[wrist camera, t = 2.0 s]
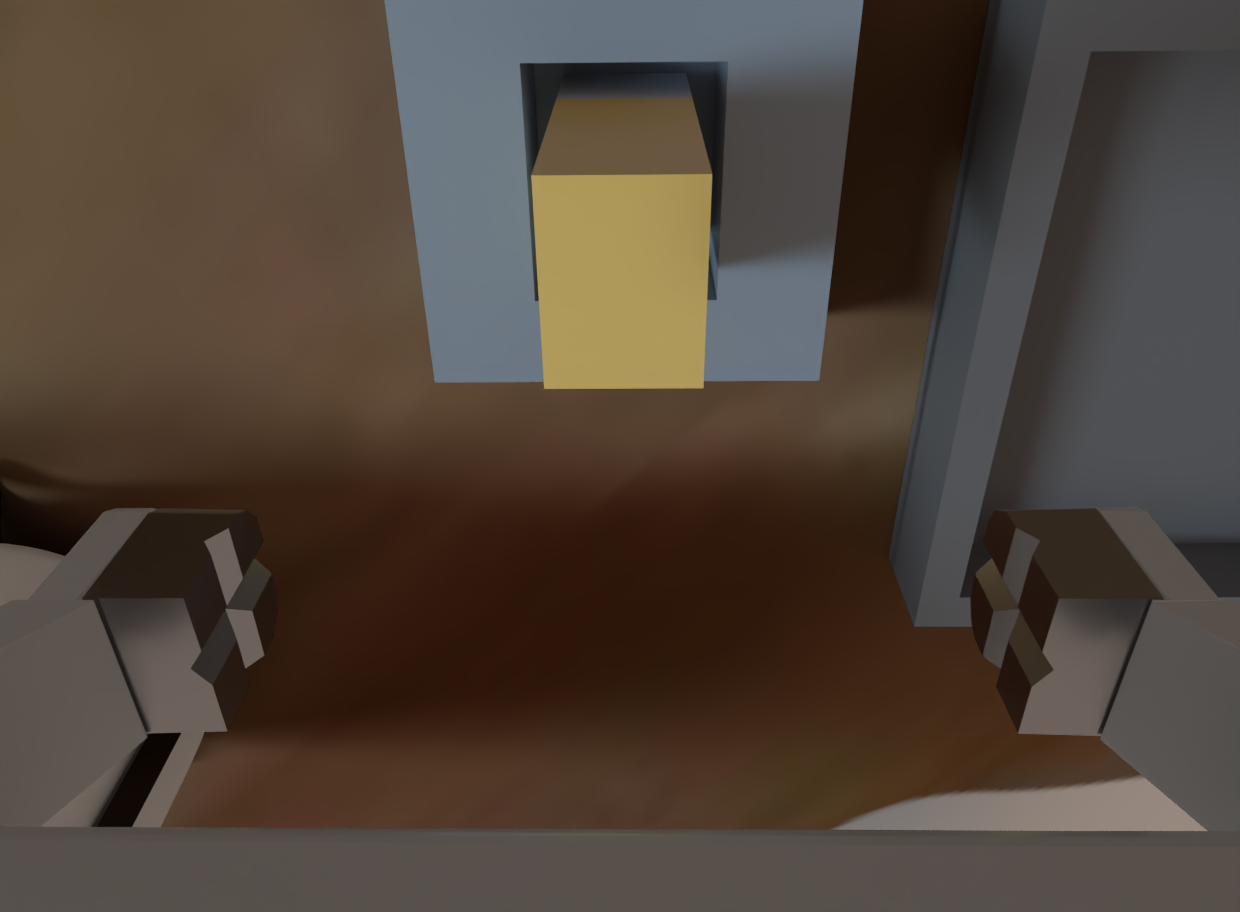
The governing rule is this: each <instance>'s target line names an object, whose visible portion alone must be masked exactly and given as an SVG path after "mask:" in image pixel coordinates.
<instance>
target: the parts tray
mask: <svg viewBox="0 0 1240 912" xmlns="http://www.w3.org/2000/svg"><path fill="white" fill-rule="evenodd" d="M1122 506H1136V507H1138V508H1140V509H1143V510H1145V511H1146V512H1147V513H1148V514H1149V515H1150V516H1151V517H1152V519H1153V520H1154V521H1155V522H1156V523H1157V525H1158V526H1159V527H1160V528H1161V529H1162V531H1163V532H1164V533H1165V534H1166V535H1167V537H1168V538H1169V539H1170V540H1171V541H1172V543H1173V544H1174V545H1175V546H1176V547H1177V549H1178V550H1179V551H1180V552H1181V553H1182V555H1183V556H1184V557H1185V558H1186V559H1187V561H1188V562H1189V563H1190V564H1191V565H1192V567H1193V568H1194V569H1195V570H1196V571H1197V573H1198V574H1199V575H1200V576H1201V577H1202V579H1203V580H1204V581H1205V582H1206V583H1207V585H1208V586H1209V587H1210V588H1211V589H1212V591H1213V592H1214V593H1215V594H1216V595H1217V597H1218V598H1219V599H1220V600H1236V601H1238V602H1240V0H990V1H989V7H988V12H987V18H986V23H985V29H984V34H983V40H982V45H981V51H980V56H979V62H978V67H977V73H976V78H975V84H974V89H973V95H972V100H971V106H970V111H969V117H968V122H967V128H966V133H965V139H964V144H963V150H962V155H961V161H960V166H959V172H958V177H957V183H956V188H955V194H954V199H953V205H952V210H951V216H950V221H949V227H948V232H947V238H946V243H945V249H944V254H943V260H942V265H941V271H940V276H939V282H938V287H937V293H936V298H935V304H934V309H933V315H932V320H931V326H930V331H929V337H928V342H927V348H926V353H925V359H924V364H923V370H922V375H921V381H920V386H919V392H918V397H917V403H916V408H915V414H914V419H913V425H912V430H911V436H910V441H909V447H908V452H907V458H906V463H905V469H904V474H903V480H902V485H901V491H900V496H899V502H898V507H897V513H896V518H895V524H894V529H893V534H892V540H891V545H890V551H889V556H888V558H889V560H890V563H891V566H892V568H893V571H894V574H895V576H896V579H897V582H898V584H899V587H900V590H901V592H902V595H903V598H904V601H905V603H906V606H907V609H908V611H909V614H910V617H911V619H912V622H913V625H914V627H972V624H971V603H970V597H971V592H972V587H973V582H974V577H975V573H976V572H977V571H978V570H979V569H980V568H981V567H983V566H984V565H985V564H986V563H987V562H988V561H989V560H990V559H991V558H992V557H991V555H990V553H989V552H988V550H987V548H986V546H985V544H984V542H983V539H984V535H985V531H986V527H987V523H988V521H989V519H990V517H991V516H992V514H993V512H994V510H1029V509H1087V508H1091V507H1122Z"/></svg>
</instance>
